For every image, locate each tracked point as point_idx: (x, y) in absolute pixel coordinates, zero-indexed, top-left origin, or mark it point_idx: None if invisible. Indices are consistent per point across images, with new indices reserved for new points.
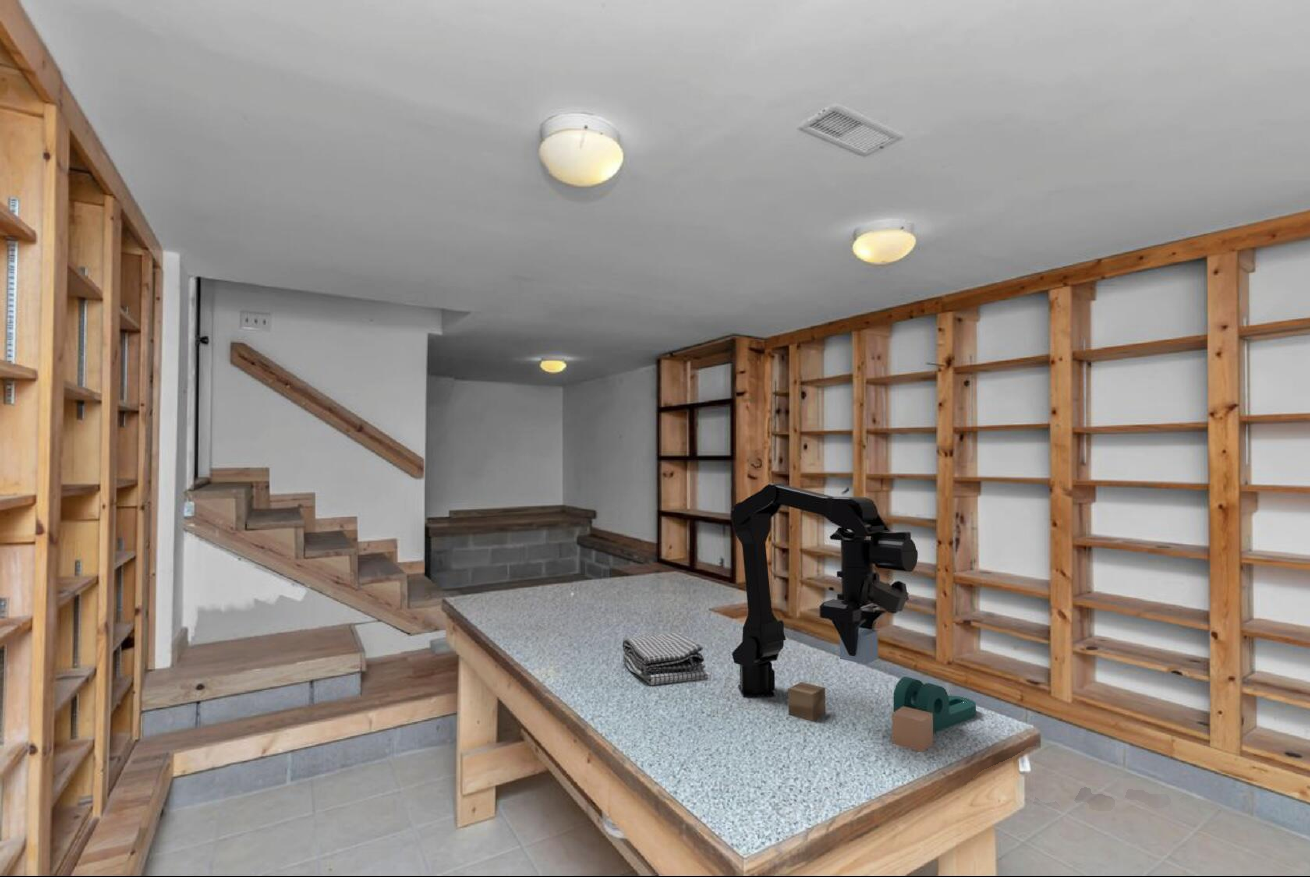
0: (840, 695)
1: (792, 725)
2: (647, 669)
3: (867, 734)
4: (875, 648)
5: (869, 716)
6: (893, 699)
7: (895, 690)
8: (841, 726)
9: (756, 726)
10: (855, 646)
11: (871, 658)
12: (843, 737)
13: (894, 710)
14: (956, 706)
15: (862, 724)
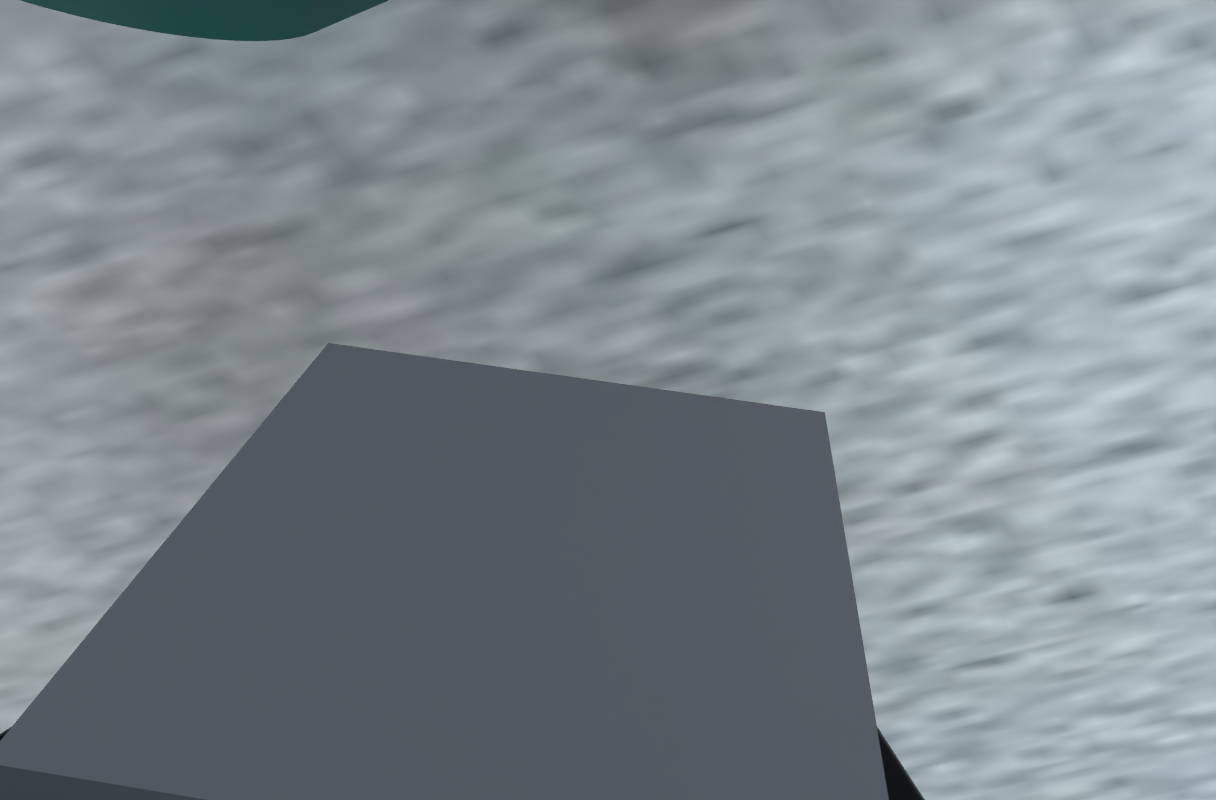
0: (160, 490)
1: (897, 574)
2: None
3: (793, 112)
4: (366, 470)
5: (399, 213)
6: (313, 31)
7: (252, 26)
8: (737, 324)
9: (1021, 714)
10: (891, 787)
11: (601, 411)
12: (954, 250)
13: (357, 5)
14: None
15: (601, 209)
